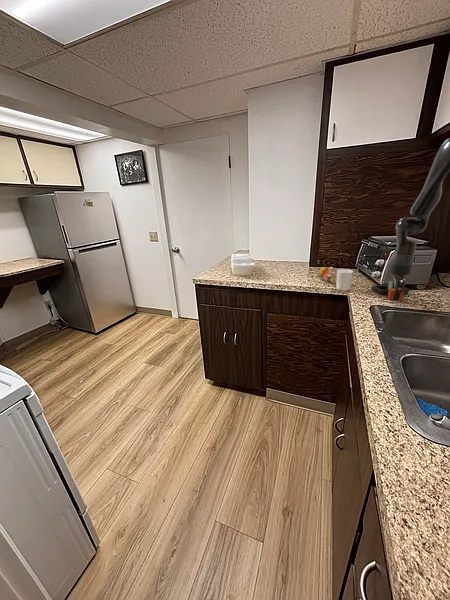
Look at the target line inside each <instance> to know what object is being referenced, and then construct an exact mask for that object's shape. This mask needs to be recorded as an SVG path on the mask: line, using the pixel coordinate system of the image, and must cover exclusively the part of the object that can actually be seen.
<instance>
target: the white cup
mask: <svg viewBox="0 0 450 600" xmlns="http://www.w3.org/2000/svg"><path fill="white" fill-rule="evenodd" d="M336 272H337V277H336V278H337V279H336V282H335V285H336V286H335V288H336V290H338V291H345V292H347V291H350V289H351V285H352V281H353V276H354V271H353V270H352V269H347V268H339V269H337V270H336Z"/></svg>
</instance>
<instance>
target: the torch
mask: <svg viewBox="0 0 450 600" xmlns="http://www.w3.org/2000/svg"><path fill="white" fill-rule="evenodd" d="M334 269H335V267H333V266H322V267H320V269H319V273H320V276H321V277H322V279H323V280H324V281H327V282H330V283H332V284H334V285H336V279H337V271H335V270H334Z"/></svg>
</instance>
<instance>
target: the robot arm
mask: <svg viewBox="0 0 450 600" xmlns="http://www.w3.org/2000/svg"><path fill="white" fill-rule="evenodd" d="M430 167H431V168H430V170H429V172H428V173H427V174H428V175H427V177H426V180H425V182H424V185H423V187H422V189H421V191H420V192H419V194H418V196H417V198H416V200H415V201H414V203H413V204H412V206H411V208H410V210H409V213H410V216H411V217H401V218H400V219H398V221H397V222H396V224H395V235H396V247H395V253H394V256H393V258H392V263H391V268H390V273H391V274H392V275H393V277H392V281H393V282H392V287H393V288H395V291H394V297H393V300H392V301H398V300H399V297H400V293H402V292H403V287H405V284H406V278H405V276H408V275H411V271H412V268H413V263H414V259H415V252H416V248H417V241H416V240H414V239H409V238H408V237H407V235H419V234H422V233H423V232H424V231H425V230H426V228H427V226H428V222H429V218H430V216H431V213H432V212H433V211H434V209H435V208H436V206H437V205H438V204H439V202H440V200H441V198H442V195H443V182H444V179H445V178H446V176H447V175H448V174H449V173H450V137H449V138H446V140H444V142H443V143H441V145H440V147H439V149H438V151H437V153H436V155H435V157H434V160H433V162H432V165H431V166H430ZM404 283H405V284H404ZM398 288H400V290H398Z"/></svg>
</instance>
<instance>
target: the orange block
mask: <svg viewBox="0 0 450 600" xmlns="http://www.w3.org/2000/svg"><path fill="white" fill-rule="evenodd" d="M398 290H400V289H398ZM394 291H395V288H389V293H388V295H387V297H388V298H387V299H388V300H390V301H394V300H393V297H394ZM403 293H404V291H403V292H402V293H400V297H399V300H397V301H399V302H402V301H403V298H404V294H403Z"/></svg>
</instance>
